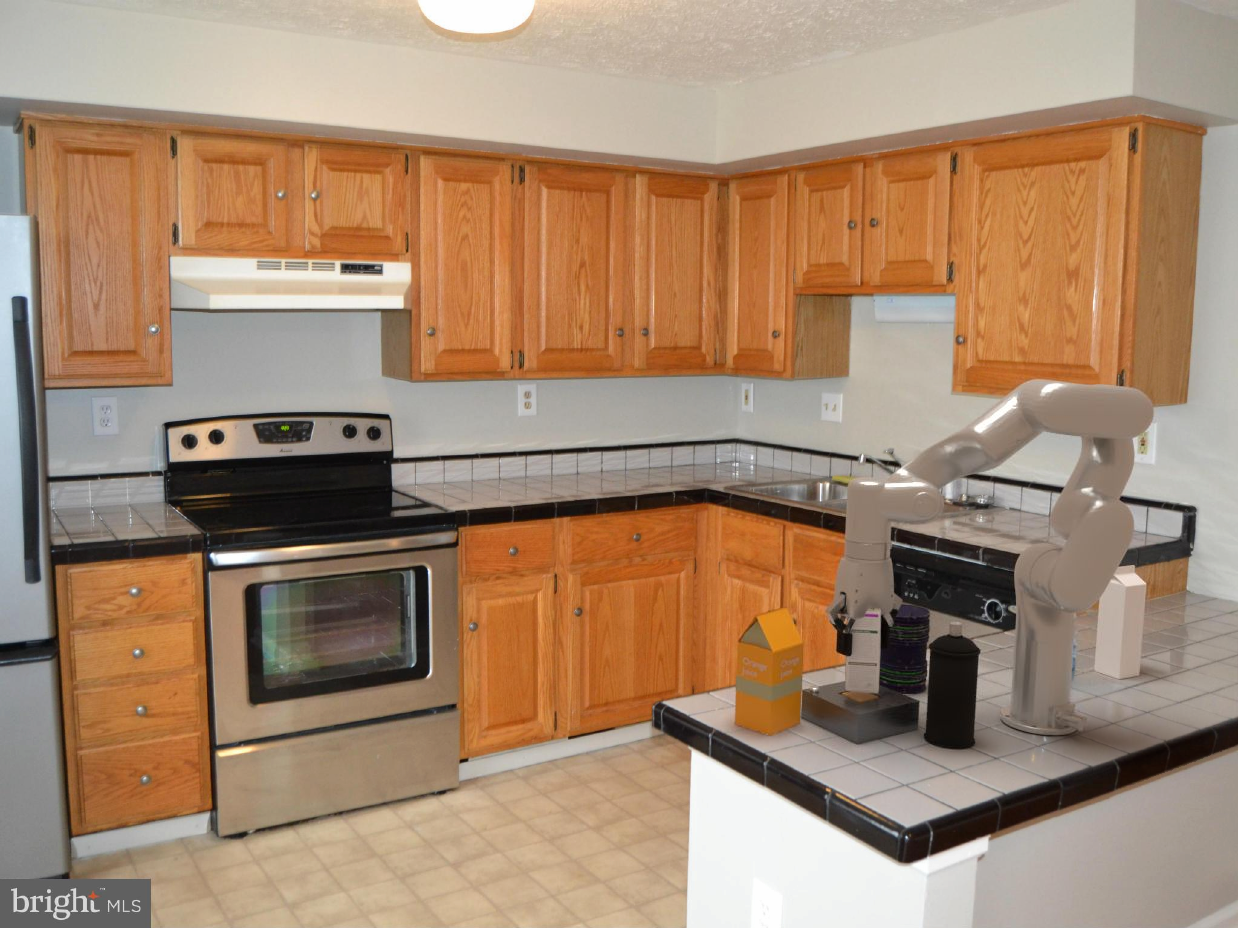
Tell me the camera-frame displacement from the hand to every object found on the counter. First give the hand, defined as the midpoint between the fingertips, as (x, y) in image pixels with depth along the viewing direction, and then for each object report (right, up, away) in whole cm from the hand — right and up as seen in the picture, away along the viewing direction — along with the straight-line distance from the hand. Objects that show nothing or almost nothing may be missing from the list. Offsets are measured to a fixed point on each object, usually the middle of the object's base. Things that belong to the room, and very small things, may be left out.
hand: (862, 650), depth 186 cm
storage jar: (+12, -11, +22) cm, 27 cm away
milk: (+58, -10, +32) cm, 67 cm away
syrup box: (0, -7, +1) cm, 7 cm away
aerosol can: (+13, -14, -5) cm, 20 cm away
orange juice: (-16, -13, +1) cm, 21 cm away
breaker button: (0, -11, +1) cm, 11 cm away
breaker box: (0, -13, +2) cm, 13 cm away
